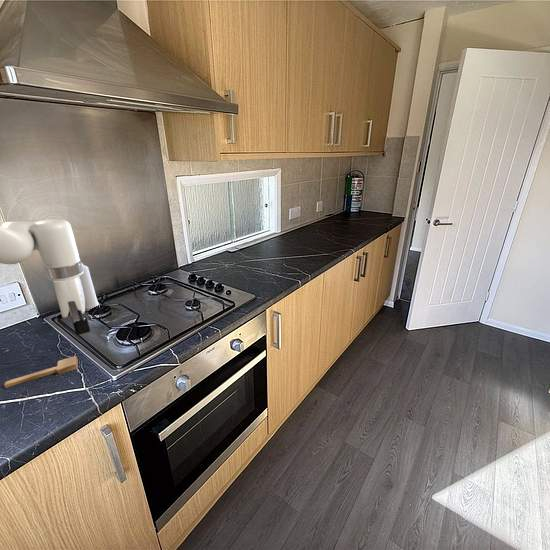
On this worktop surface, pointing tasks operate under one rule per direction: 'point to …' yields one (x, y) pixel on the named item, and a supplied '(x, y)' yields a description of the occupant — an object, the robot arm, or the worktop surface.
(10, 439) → the worktop surface
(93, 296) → the bottle
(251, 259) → the worktop surface
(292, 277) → the worktop surface
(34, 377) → the wooden spatula
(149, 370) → the worktop surface
